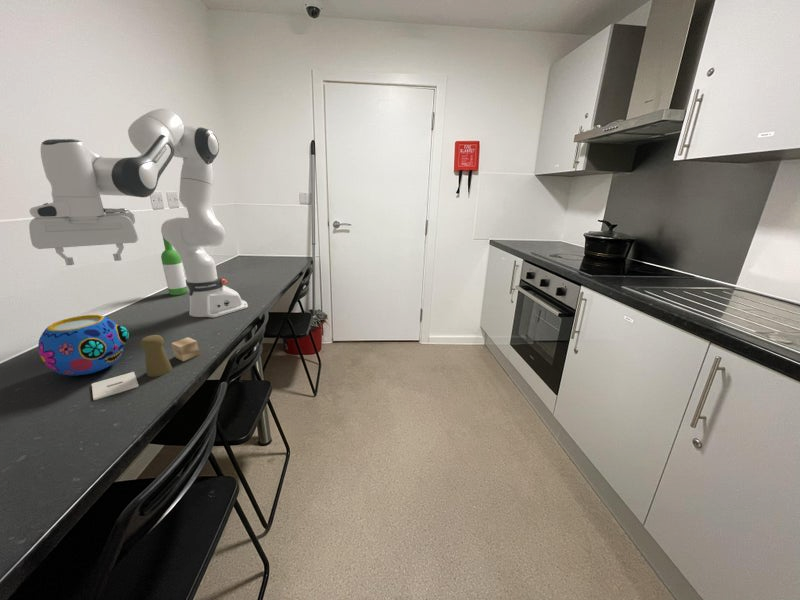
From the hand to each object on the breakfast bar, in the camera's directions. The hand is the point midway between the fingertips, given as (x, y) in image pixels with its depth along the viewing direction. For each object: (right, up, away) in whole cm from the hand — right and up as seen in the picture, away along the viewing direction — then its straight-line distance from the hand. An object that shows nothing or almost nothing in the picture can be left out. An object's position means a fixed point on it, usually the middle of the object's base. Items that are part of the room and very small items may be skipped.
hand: (95, 262), depth 86 cm
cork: (+11, -31, +8) cm, 34 cm away
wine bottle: (-29, -7, +75) cm, 80 cm away
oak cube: (+14, -28, +17) cm, 35 cm away
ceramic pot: (-8, -30, +8) cm, 33 cm away
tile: (+5, -33, +1) cm, 33 cm away
